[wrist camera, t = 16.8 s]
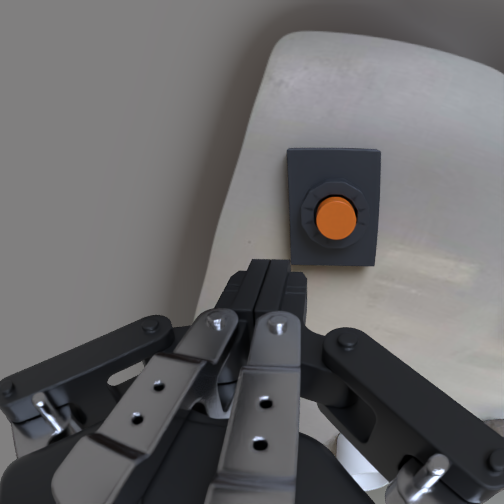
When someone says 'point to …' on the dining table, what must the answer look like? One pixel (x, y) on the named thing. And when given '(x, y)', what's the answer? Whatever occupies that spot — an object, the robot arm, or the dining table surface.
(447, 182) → the dining table surface
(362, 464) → the mug
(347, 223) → the button
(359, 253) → the button base
